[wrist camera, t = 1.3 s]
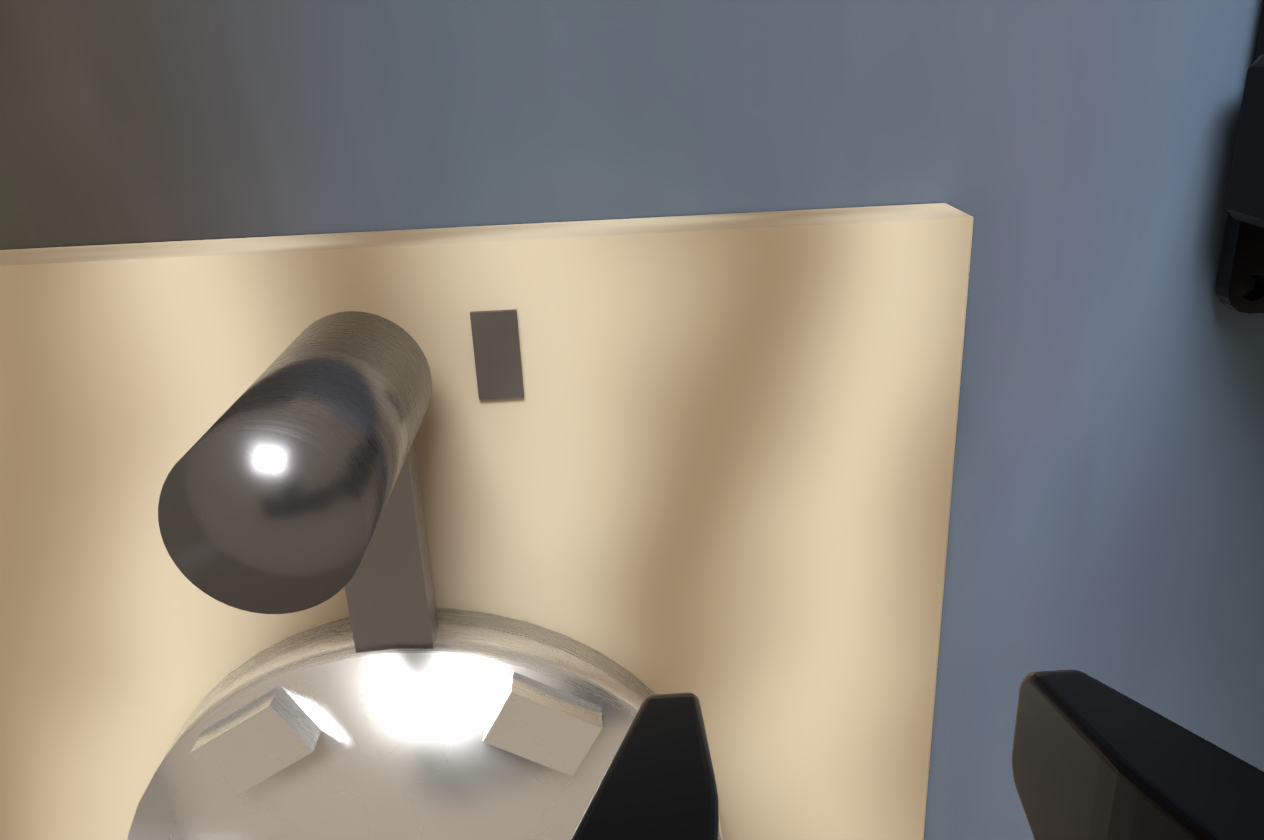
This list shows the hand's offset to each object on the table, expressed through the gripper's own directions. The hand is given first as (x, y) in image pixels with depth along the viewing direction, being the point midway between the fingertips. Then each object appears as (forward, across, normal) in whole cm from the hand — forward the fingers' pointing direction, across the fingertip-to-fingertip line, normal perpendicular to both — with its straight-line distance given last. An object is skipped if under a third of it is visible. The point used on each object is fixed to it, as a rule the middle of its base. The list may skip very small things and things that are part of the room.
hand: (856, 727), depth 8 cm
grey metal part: (+10, +6, +8) cm, 14 cm away
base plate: (+12, +7, +8) cm, 16 cm away
